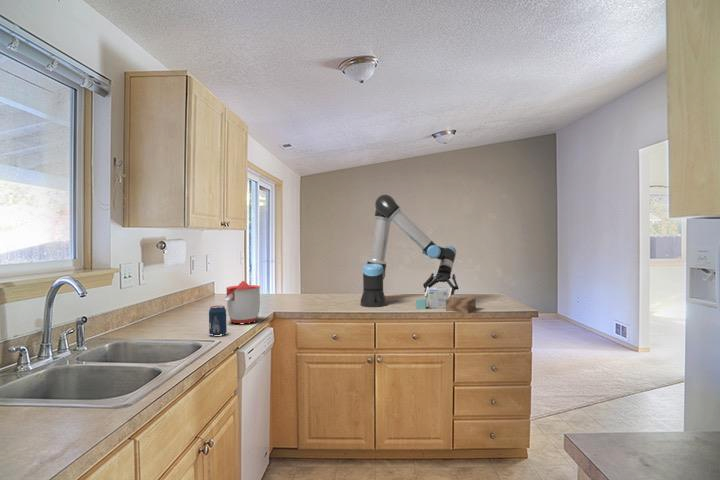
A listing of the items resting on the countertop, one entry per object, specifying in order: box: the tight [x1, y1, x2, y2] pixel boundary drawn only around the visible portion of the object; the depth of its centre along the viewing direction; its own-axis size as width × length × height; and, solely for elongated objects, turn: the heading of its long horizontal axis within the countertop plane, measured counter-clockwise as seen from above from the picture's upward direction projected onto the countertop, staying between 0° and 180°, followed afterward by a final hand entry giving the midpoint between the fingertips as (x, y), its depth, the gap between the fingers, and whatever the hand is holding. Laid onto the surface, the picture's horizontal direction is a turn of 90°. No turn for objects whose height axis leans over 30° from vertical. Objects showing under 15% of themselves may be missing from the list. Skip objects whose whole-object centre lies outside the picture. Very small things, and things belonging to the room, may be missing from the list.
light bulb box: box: [427, 287, 449, 309], centre depth 245 cm, size 11×7×11 cm, turn 87°
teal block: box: [415, 298, 427, 310], centre depth 242 cm, size 5×5×5 cm
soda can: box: [208, 305, 228, 335], centre depth 185 cm, size 7×7×12 cm
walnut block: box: [445, 296, 477, 314], centre depth 236 cm, size 12×12×6 cm
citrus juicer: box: [223, 280, 261, 324], centre depth 210 cm, size 16×17×20 cm
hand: (437, 297), depth 244 cm, fingers open, 13 cm apart
